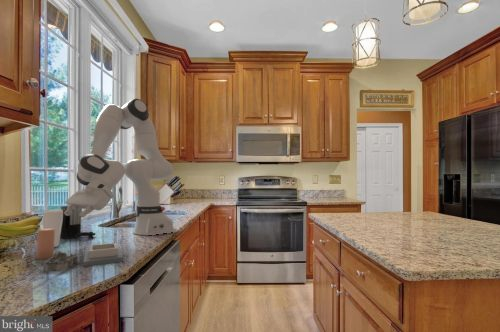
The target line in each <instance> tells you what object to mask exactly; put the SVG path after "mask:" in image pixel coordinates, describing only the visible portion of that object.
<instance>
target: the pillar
mask: <svg viewBox="0 0 500 332" xmlns="http://www.w3.org/2000/svg"><path fill="white" fill-rule="evenodd" d="M36 237H37V239H36V254H35V255H36V257H35V258H36V260H48V259H50V257H53V255H54V254H55V247H54V237H55V229H53V228H48V229H43V228H41V229H37V236H36Z"/></svg>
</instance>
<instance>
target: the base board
mask: <svg viewBox="0 0 500 332" xmlns="http://www.w3.org/2000/svg"><path fill="white" fill-rule="evenodd" d="M121 262H124V255H123V253H122V249H121V246H118V243H117V242H110V243H98V244H97V243H95V244H90V245H89V249H84V255H83V261H82V263H83V264H82V267H88V266H89V267H90V266H96V265H97V266H98V265H104V264H113V263H121Z"/></svg>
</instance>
